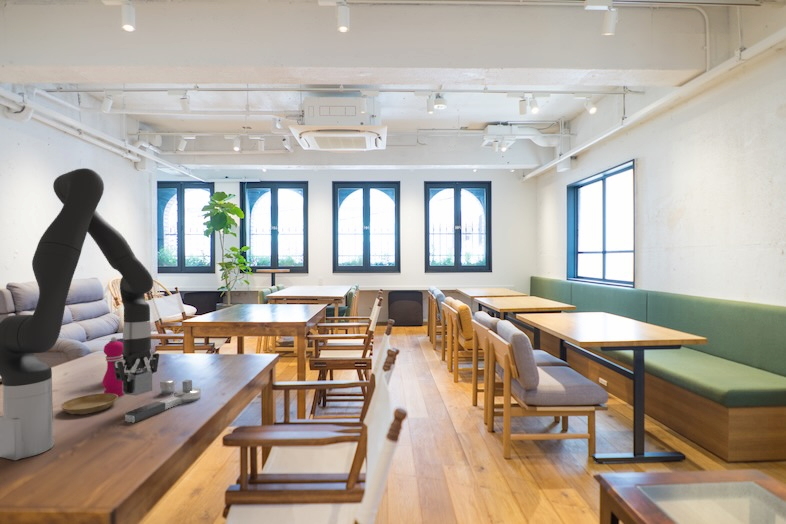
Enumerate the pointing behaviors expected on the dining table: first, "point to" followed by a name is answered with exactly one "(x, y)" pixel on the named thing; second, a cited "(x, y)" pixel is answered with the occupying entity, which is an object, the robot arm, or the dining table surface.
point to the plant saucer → (89, 403)
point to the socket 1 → (141, 382)
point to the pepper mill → (113, 354)
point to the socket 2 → (167, 387)
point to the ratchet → (165, 403)
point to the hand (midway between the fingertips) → (137, 390)
